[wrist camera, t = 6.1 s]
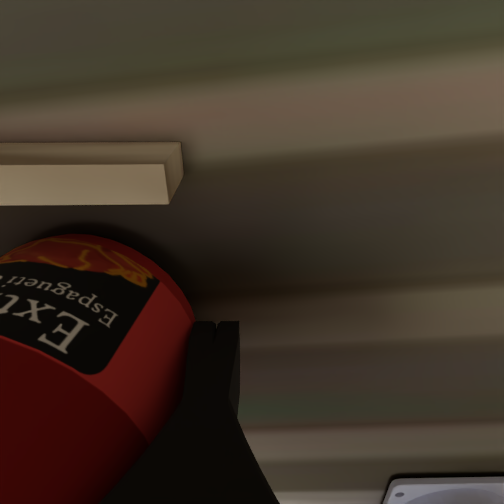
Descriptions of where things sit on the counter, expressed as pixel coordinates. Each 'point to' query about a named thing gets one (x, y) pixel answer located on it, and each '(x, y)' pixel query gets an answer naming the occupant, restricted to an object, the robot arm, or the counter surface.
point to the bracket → (89, 173)
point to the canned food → (84, 365)
